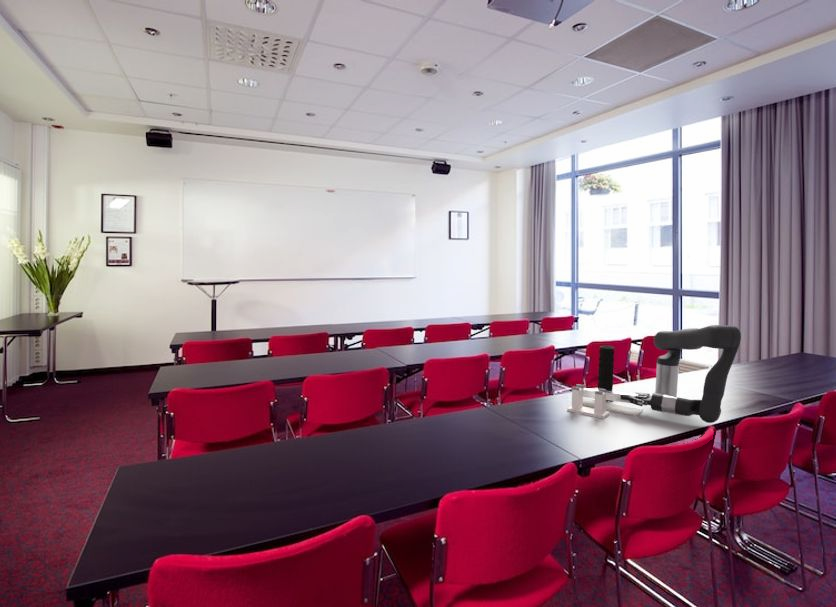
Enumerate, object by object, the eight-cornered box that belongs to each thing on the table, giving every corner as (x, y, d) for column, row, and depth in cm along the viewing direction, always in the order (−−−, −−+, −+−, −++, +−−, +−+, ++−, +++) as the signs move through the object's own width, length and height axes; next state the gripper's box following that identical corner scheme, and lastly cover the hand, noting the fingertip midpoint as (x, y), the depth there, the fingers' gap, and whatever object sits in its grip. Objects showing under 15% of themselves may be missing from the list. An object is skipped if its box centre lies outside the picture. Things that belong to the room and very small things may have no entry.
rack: (573, 406, 208) (574, 383, 207) (609, 414, 198) (610, 389, 197) (567, 410, 203) (568, 386, 202) (604, 419, 193) (605, 393, 192)
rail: (582, 396, 214) (581, 389, 214) (584, 395, 217) (584, 387, 217) (636, 403, 199) (636, 396, 199) (638, 401, 202) (638, 394, 202)
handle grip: (618, 401, 216) (611, 395, 226) (621, 347, 213) (614, 343, 223) (597, 401, 217) (591, 394, 227) (599, 346, 214) (593, 342, 224)
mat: (581, 398, 222) (581, 397, 222) (643, 410, 204) (643, 409, 204) (573, 403, 214) (573, 402, 214) (637, 416, 196) (637, 415, 196)
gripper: (668, 391, 198) (626, 384, 209) (661, 398, 188) (617, 390, 199) (667, 407, 199) (626, 399, 210) (660, 416, 188) (616, 407, 199)
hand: (622, 395), depth 204 cm, fingers closed on rail, 3 cm apart
